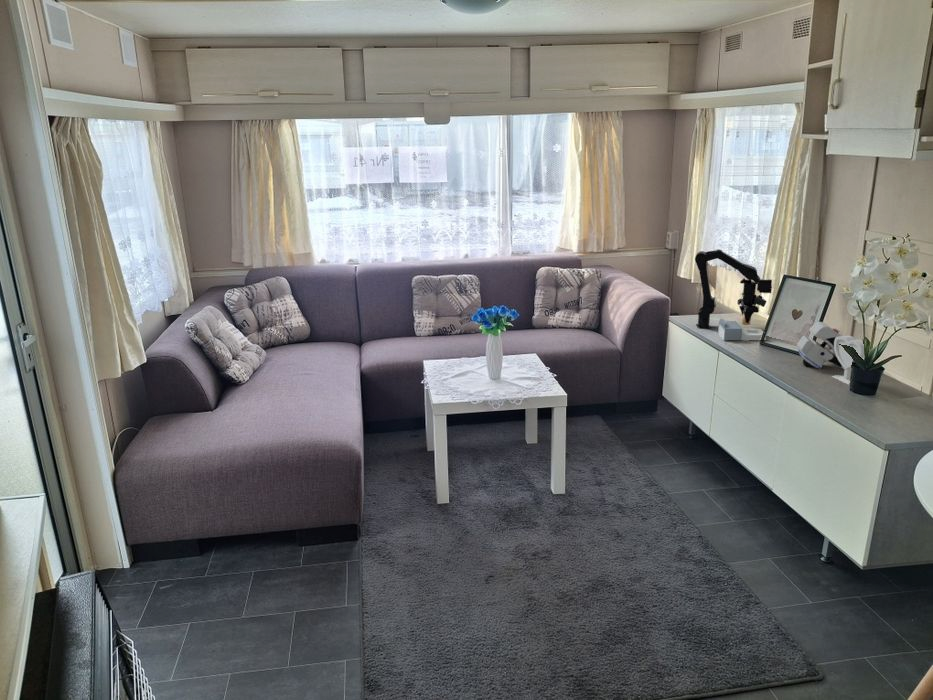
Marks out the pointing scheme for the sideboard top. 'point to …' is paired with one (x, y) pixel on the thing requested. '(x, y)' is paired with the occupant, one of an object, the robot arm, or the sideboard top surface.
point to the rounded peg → (745, 321)
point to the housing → (745, 333)
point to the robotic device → (819, 346)
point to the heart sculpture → (847, 355)
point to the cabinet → (731, 330)
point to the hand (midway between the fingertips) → (746, 321)
